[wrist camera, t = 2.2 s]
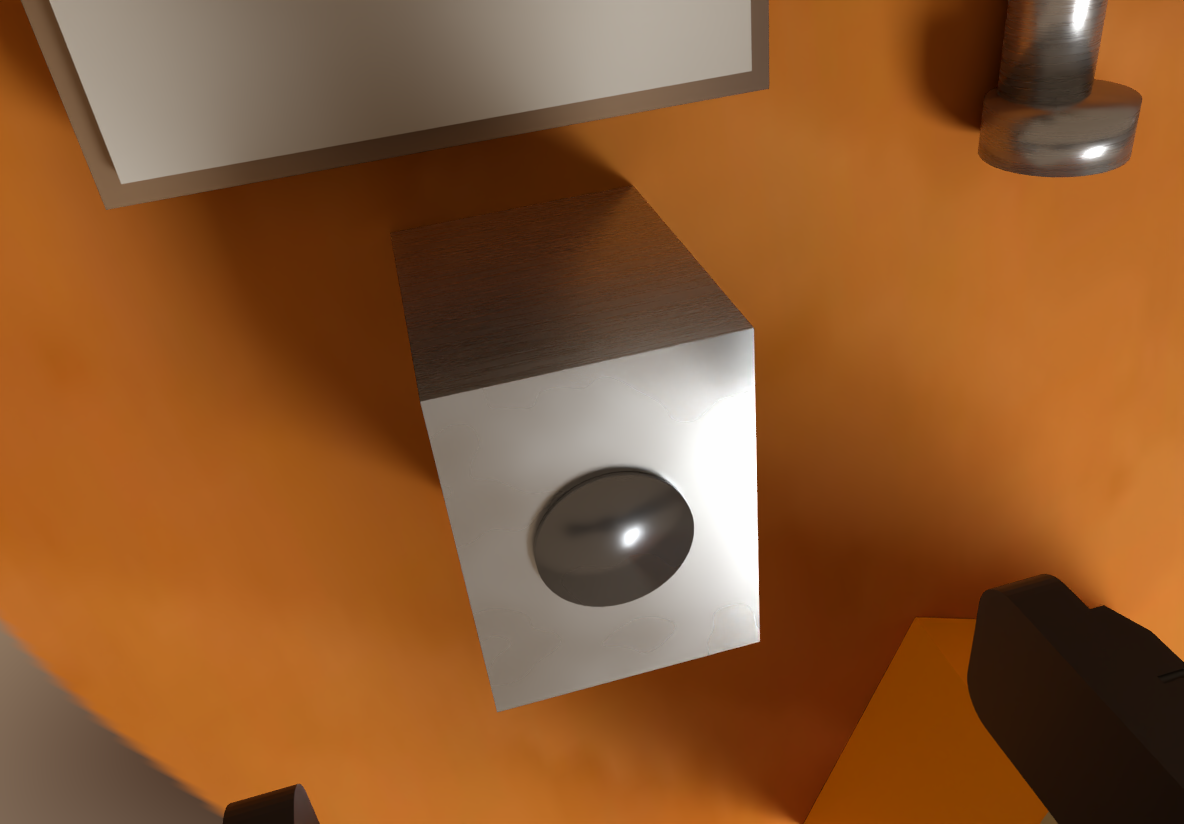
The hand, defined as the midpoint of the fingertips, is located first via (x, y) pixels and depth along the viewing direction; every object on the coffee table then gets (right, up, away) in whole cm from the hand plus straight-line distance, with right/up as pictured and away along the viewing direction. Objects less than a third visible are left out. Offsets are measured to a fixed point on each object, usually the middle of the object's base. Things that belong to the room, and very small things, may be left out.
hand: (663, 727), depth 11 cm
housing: (-2, +5, +8) cm, 10 cm away
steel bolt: (+7, +12, +6) cm, 15 cm away
